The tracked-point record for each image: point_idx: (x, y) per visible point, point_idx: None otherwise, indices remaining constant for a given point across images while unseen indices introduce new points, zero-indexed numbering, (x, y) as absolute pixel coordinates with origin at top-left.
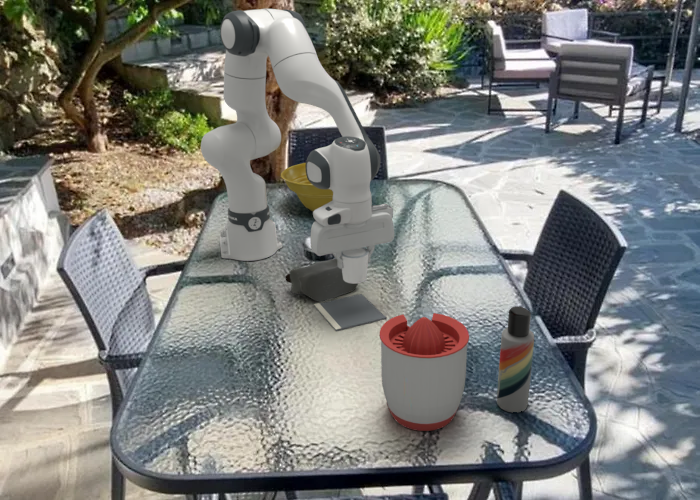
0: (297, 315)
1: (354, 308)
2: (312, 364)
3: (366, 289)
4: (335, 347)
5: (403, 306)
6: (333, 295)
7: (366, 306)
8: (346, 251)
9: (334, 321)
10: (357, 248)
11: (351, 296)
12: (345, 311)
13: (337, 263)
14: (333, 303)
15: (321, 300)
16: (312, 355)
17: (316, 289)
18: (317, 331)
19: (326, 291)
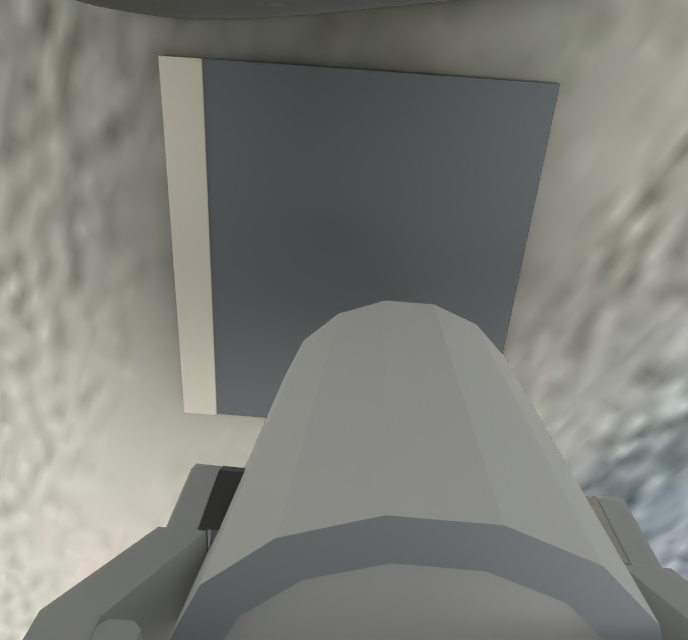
0: (19, 129)
1: (388, 262)
2: (12, 557)
3: (658, 3)
4: (137, 509)
5: (662, 366)
6: (345, 9)
7: (469, 278)
8: (309, 633)
9: (207, 341)
10: (546, 637)
11: (470, 84)
12: (319, 267)
13: (185, 483)
14: (297, 119)
15: (235, 18)
16: (25, 512)
17: (166, 3)
18: (96, 361)
19: (276, 6)
